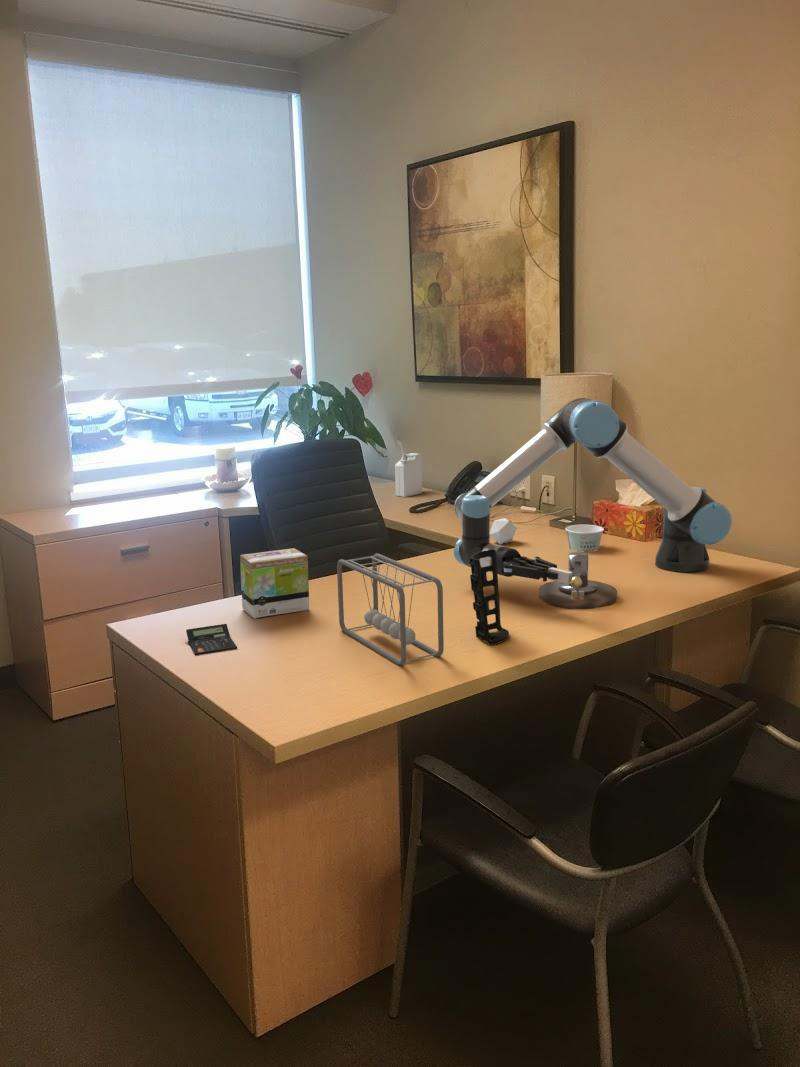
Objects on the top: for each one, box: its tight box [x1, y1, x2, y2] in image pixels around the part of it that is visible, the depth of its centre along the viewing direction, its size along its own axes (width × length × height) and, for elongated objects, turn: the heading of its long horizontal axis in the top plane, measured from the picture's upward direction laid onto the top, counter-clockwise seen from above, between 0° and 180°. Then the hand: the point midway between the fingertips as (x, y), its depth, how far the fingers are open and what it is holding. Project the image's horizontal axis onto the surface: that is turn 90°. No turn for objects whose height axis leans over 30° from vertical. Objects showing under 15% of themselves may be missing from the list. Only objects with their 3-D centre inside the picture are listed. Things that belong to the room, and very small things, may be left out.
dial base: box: [538, 579, 618, 610], centre depth 229 cm, size 20×20×4 cm
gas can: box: [394, 439, 423, 498], centre depth 377 cm, size 15×5×25 cm, turn 141°
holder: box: [469, 549, 510, 646], centre depth 199 cm, size 11×8×20 cm
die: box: [490, 517, 517, 545], centre depth 290 cm, size 8×9×10 cm
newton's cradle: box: [336, 553, 445, 667], centre depth 197 cm, size 30×10×18 cm, turn 30°
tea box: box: [239, 547, 310, 619], centre depth 224 cm, size 15×10×15 cm
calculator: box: [185, 623, 238, 656], centre depth 201 cm, size 9×12×3 cm
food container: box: [564, 524, 605, 552], centre depth 280 cm, size 12×12×6 cm
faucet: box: [558, 551, 598, 594], centre depth 221 cm, size 25×10×9 cm, turn 167°
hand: (570, 578), depth 213 cm, fingers closed
